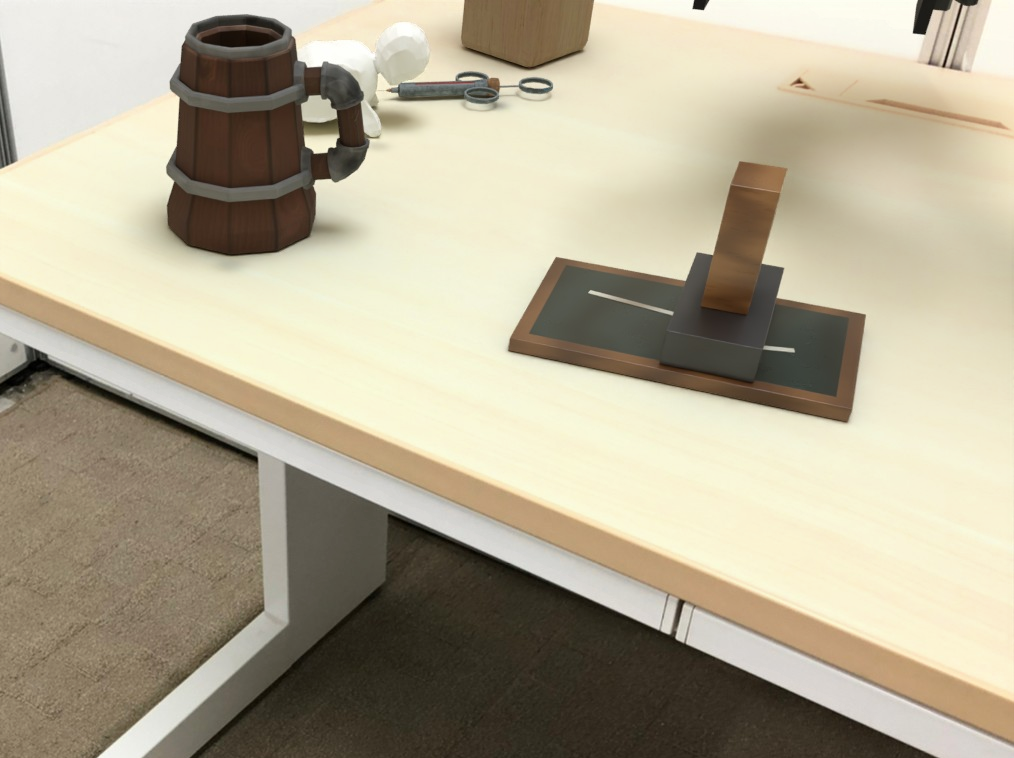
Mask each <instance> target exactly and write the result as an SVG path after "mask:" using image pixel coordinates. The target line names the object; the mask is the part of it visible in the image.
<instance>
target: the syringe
mask: <svg viewBox="0 0 1014 758" xmlns="http://www.w3.org/2000/svg"><path fill="white" fill-rule="evenodd" d="M463 78H478V79H473V80H462V79H463ZM531 83H535V84H536V83H537V84H542V85H546V86H548V87H543V88H536V87H535V88H534V87H529V86H525V84H531ZM502 88H504V89H505V88H518V89H519V90H520V91H522V92H523V93H526V94H531V95H544V94H548V93H551V92H552V91H553V88H554V82H553V81H551V80H550V79H548V78H545V77H538V76H531V77H530V76H529V77H524V78H521V79H520V80H519V81H518V84H512V85H501V81H500V78H499V77H490V76H489V75H488V74H486V73H484V72H480V71H476V70H475V71H473V70H469V71H467V70H466V71H462V72H459V73H457V74H456V75H455V79H454V80H442V81H441V80H440V81H410V82H402V83H400V84H398V85H397V86H396V87H395V86H394V87H391V88H388V89H385V90H384V89H383V90H378V89H377V92H384V91H385V92H387V93H391V94H397V96H398V98H420V97H421V98H422V97H424V98H425V97H451V96H452V97H453V96H463V98H464V100H466V101H467V102H469V103H471V104H476V105H489V104H493V103H496V102H497V101H498V100H499V98H500V90H501V89H502ZM473 96H483V98H481V97H473ZM484 96H485V97H486V96H489V98H484Z"/></svg>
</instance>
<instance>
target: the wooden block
mask: <svg viewBox="0 0 1014 758" xmlns="http://www.w3.org/2000/svg"><path fill="white" fill-rule="evenodd" d="M594 3H595V0H464V2H463V12H462V23H461V32H460V33H461V35H460V40H461V44H462V45H463V46H464V47H465V48H468V49H471V50H474V51H477V52H479V53H483V54H485V55H489V56H492V57H495V58H498V59H501V60H504V61H508V62H510V63H514V64H516V65H519V66H523V67H526V68H532V67H536V66H539V65H542V64H545V63H548V62H550V61H553V60H555V59H558V58H561V57H564V56H568V55H569V54H572V53H575V52H578V51H580V50H583V49H584V48H585V47H586V45H587V44H588V41H589V37H590V29H591V23H592V15H593V9H594Z"/></svg>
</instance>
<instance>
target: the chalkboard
mask: <svg viewBox="0 0 1014 758" xmlns="http://www.w3.org/2000/svg"><path fill="white" fill-rule="evenodd" d="M685 282H686V280H683V279H677V278H674V277H666V276H661V275H657V274H651V273H647V272H646V273H645V272H640V271H634V270H629V269H624V268H618V267H613V266H608V265H602V264H597V263H592V262H586V261H580V260H576V259H569V258H565V257H560V256H555V257H554V259H553V261H552V263H551V264H550V266H549V268H548V270H547V271H546V273H545V274H544V277H543V279H542V280H541V282H540V284H539V286H538V287H537V289H536V291H535V292H534V295H533V296H532V298H531V300H530V302H529V304H528V305H527V307H526V308H525V310H524V312H523V313H522V316H521V318H520V319H519V321H518V323H517V325H516V326H515V327H514V330H513V332H512V333H511V335H510V337H509V339H508V347H507V349H508V351H510V352H515V353H519V354H524V355H528V356H534V357H539V358H543V359H548V360H551V361H552V360H553V361H556V362H557V361H558V362H562V363H566V364H570V365H571V364H572V365H575V366H580V367H586V368H591V369H595V370H601V371H605V372H609V373H615V374H619V375H623V376H628V377H634V378H638V379H643V380H647V381H651V382H652V381H653V382H655V383H656V382H657V383H661V384H667V385H670V386H676V387H680V388H685V389H690V390H693V391H699V392H703V393H704V392H705V393H709V394H713V395H718V396H723V397H727V398H733V399H737V400H742V401H746V402H751V403H754V404H755V403H756V404H760V405H765V406H770V407H774V408H780V409H784V410H789V411H794V412H798V413H804V414H808V415H813V416H816V417H823V418H826V419H827V418H828V419H832V420H836V421H841V422H847V423H848V422H849V420H850V417H851V414H852V412H853V407H854V401H855V394H856V388H857V381H858V372H859V366H860V358H861V352H862V347H863V346H862V345H863V339H864V333H865V325H866V319H867V314H866V313H860V312H855V311H850V310H844V309H839V308H833V307H828V306H824V305H819V304H814V303H813V304H812V303H807V302H801V301H797V300H791V299H785V298H780V297H777V299H776V302H775V306H774V310H773V314H772V318H771V322H770V325H769V329H768V333H767V337H766V341H765V344H764V348H763V352H762V355H761V359H760V362H759V366H758V369H757V373H756V376H755V380H754V383H750V382H746V381H741V380H736V379H731V378H726V377H721V376H717V375H712V374H707V373H702V372H697V371H692V370H688V369H683V368H678V367H673V366H668V365H664V364H659V362H660V358H661V353H662V349H663V344H664V340H665V336H666V331H667V329H668V326H669V323H670V321H671V318H672V316H673V313H674V310H675V308H676V305H677V302H678V300H679V297H680V295H681V292H682V289H683V287H684V284H685Z"/></svg>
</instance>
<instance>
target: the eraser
mask: <svg viewBox="0 0 1014 758" xmlns="http://www.w3.org/2000/svg"><path fill="white" fill-rule="evenodd" d="M787 173H788V168H786V167H780V166H775V165H768V164H761V163H757V162H756V163H754V162H748V161H747V162H746V161H742V160H739V161H738V163H737V166H736V169H735V171H734V174H733V176H732V179H731V182H730V185H729V188H728V193H727V197H726V201H725V205H724V208H723V213H722V218H721V222H720V226H719V229H718V234H717V238H716V241H715V246H714V251H713V254H710V253H705V252H698V251H697V252H696V253H695V255H694V258H693V260H692V263H691V266H690V268H689V271H688V274H687V276H686V280H685V281H686V282H685V284H684V287H683V289H682V292H681V295H680V297H679V300H678V302H677V305H676V308H675V310H674V313H673V316H672V318H671V321H670V323H669V326H668V329H667V331H666V336H665V340H664V344H663V349H662V353H661V358H660V362H659V364H664V365H668V366H673V367H678V368H683V369H688V370H692V371H697V372H702V373H707V374H712V375H717V376H721V377H726V378H731V379H736V380H741V381H746V382H750V383H754V380H755V376H756V373H757V369H758V366H759V362H760V359H761V355H762V352H763V348H764V344H765V341H766V337H767V333H768V329H769V325H770V322H771V318H772V314H773V310H774V306H775V302H776V299H777V298H778V294H779V290H780V286H781V283H782V279H783V275H784V272H785V267H782V266H777V265H772V264H767V263H763V262H764V258H765V254H766V250H767V246H768V243H769V240H770V235H771V232H772V228H773V224H774V221H775V218H776V214H777V209H778V206H779V203H780V199H781V197H782V196H781V195H782V192H783V188H784V185H785V181H786V177H787Z"/></svg>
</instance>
